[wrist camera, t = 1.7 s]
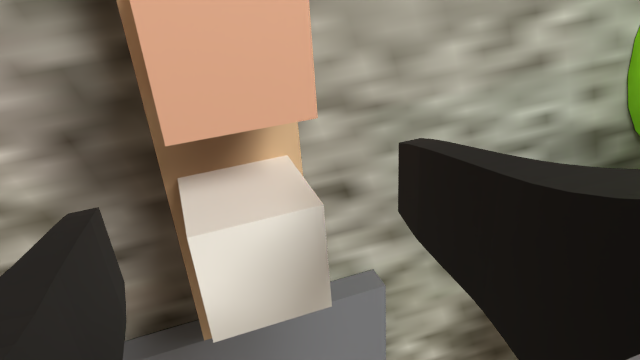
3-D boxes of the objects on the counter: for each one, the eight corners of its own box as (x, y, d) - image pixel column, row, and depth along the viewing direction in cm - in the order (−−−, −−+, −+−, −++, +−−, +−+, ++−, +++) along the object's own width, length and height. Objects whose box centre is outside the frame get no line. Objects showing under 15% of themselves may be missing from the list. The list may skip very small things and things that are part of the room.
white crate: (287, 155, 17) (323, 204, 14) (297, 243, 19) (331, 306, 16) (177, 178, 16) (186, 237, 13) (199, 269, 18) (213, 342, 14)
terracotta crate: (265, -47, 14) (305, -47, 11) (279, 82, 16) (317, 117, 12) (127, -35, 13) (122, -31, 10) (159, 102, 15) (165, 146, 11)
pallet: (239, -165, 16) (266, -197, 12) (291, 257, 24) (315, 306, 21) (83, -162, 14) (65, -198, 11) (194, 283, 23) (204, 340, 19)
